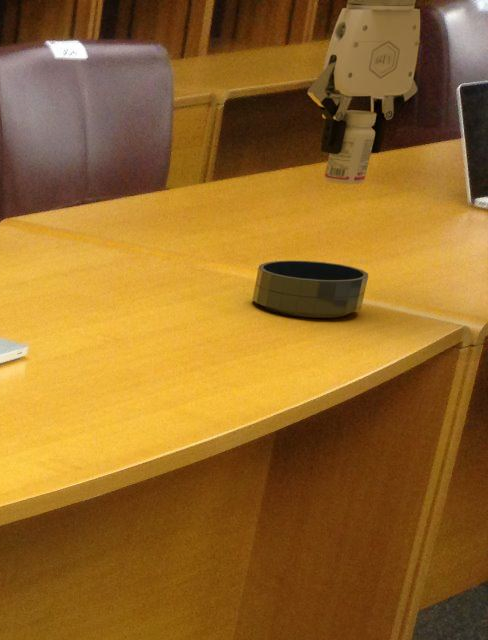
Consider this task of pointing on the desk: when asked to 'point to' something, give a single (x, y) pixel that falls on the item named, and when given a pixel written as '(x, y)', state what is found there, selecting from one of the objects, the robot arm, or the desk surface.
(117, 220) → the desk surface
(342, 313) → the bowl
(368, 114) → the pill bottle
